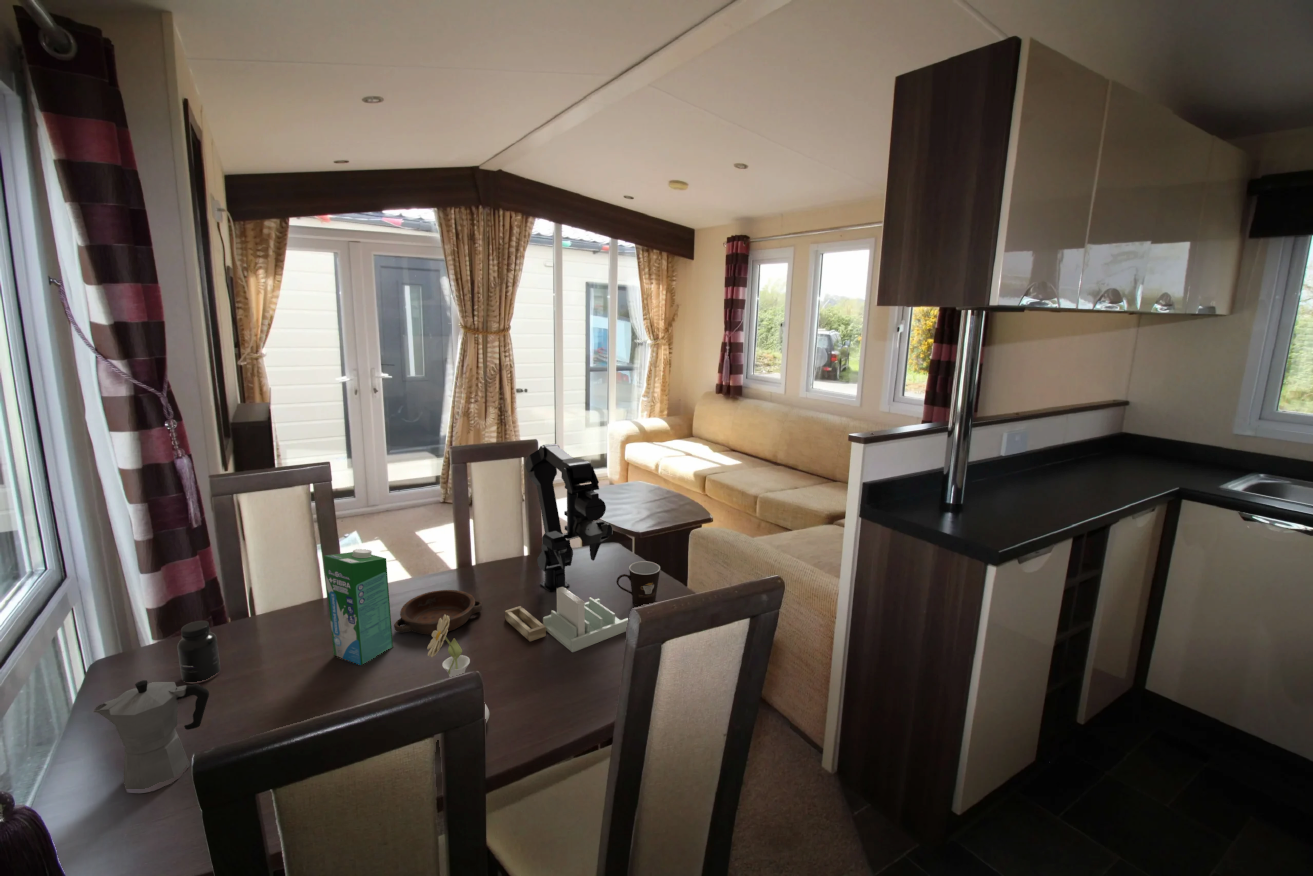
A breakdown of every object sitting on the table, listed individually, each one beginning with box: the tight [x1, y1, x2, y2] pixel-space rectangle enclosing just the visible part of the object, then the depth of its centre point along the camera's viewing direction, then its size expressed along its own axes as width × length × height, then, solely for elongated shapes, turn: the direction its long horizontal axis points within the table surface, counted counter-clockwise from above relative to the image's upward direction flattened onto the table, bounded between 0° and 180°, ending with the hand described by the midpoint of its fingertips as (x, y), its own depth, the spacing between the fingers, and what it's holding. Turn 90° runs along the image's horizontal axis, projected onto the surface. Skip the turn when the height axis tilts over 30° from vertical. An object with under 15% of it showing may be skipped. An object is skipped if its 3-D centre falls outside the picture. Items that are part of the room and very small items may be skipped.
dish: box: [393, 589, 483, 635], centre depth 156 cm, size 18×22×5 cm
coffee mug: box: [615, 560, 661, 607], centre depth 169 cm, size 12×9×10 cm
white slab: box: [556, 587, 586, 637], centre depth 151 cm, size 10×2×10 cm, turn 40°
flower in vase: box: [426, 615, 490, 723], centre depth 115 cm, size 13×11×25 cm
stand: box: [504, 605, 547, 642], centre depth 155 cm, size 13×4×2 cm, turn 40°
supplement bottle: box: [176, 620, 221, 682], centre depth 131 cm, size 7×7×12 cm
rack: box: [542, 597, 628, 653], centre depth 154 cm, size 14×17×5 cm
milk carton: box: [323, 548, 394, 666], centre depth 140 cm, size 9×9×25 cm
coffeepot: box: [93, 679, 210, 790], centre depth 104 cm, size 15×9×18 cm, turn 114°
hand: (578, 564), depth 162 cm, fingers open, 9 cm apart
